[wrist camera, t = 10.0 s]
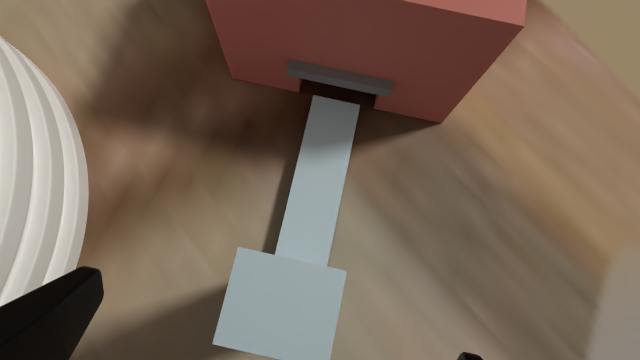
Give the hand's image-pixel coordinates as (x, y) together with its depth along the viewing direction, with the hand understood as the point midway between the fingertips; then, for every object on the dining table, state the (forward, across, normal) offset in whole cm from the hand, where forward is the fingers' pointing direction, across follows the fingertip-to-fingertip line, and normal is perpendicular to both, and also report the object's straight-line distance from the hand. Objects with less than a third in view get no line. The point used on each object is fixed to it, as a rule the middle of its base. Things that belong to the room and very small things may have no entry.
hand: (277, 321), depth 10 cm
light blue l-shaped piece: (+13, 0, +5) cm, 14 cm away
